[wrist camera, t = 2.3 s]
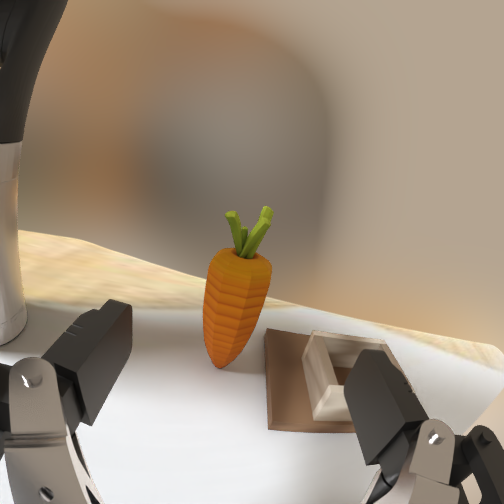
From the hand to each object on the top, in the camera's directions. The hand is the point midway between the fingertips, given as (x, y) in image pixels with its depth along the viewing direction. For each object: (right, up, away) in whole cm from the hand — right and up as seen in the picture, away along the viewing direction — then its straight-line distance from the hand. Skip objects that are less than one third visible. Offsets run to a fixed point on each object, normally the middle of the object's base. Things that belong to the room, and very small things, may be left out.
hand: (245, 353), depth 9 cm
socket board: (+8, -10, +16) cm, 21 cm away
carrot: (-3, -7, +16) cm, 17 cm away
